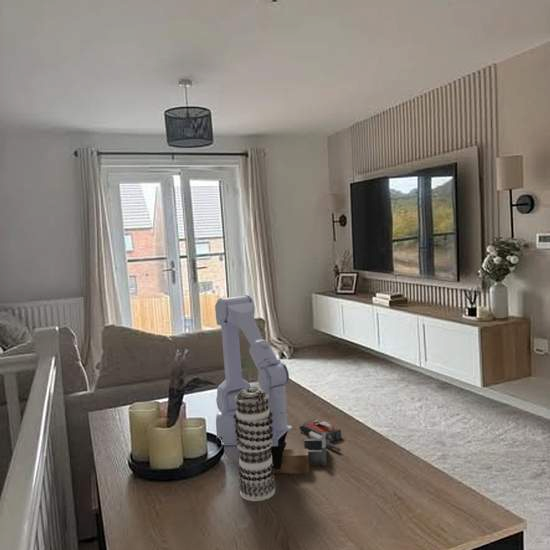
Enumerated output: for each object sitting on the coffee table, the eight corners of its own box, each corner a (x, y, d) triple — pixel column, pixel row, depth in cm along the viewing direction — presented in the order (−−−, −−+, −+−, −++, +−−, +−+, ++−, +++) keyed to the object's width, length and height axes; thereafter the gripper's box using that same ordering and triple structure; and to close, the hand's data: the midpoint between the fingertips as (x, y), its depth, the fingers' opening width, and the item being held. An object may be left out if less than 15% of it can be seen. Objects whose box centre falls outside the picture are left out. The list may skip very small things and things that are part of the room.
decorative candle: (272, 503, 117) (266, 397, 115) (233, 500, 119) (227, 396, 117) (280, 483, 126) (274, 384, 124) (244, 481, 128) (238, 384, 126)
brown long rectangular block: (247, 475, 132) (245, 456, 131) (248, 468, 136) (247, 450, 135) (309, 474, 131) (308, 455, 130) (309, 467, 135) (308, 448, 134)
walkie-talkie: (293, 434, 157) (337, 456, 140) (293, 420, 157) (336, 440, 140) (316, 426, 162) (360, 446, 145) (315, 412, 161) (359, 431, 145)
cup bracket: (303, 466, 135) (302, 447, 134) (304, 449, 144) (304, 432, 144) (326, 466, 134) (325, 447, 134) (326, 449, 144) (325, 432, 143)
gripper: (288, 421, 124) (291, 474, 125) (292, 400, 139) (294, 449, 140) (259, 421, 125) (263, 475, 126) (266, 401, 139) (269, 449, 140)
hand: (277, 461), depth 133 cm, fingers open, 7 cm apart
